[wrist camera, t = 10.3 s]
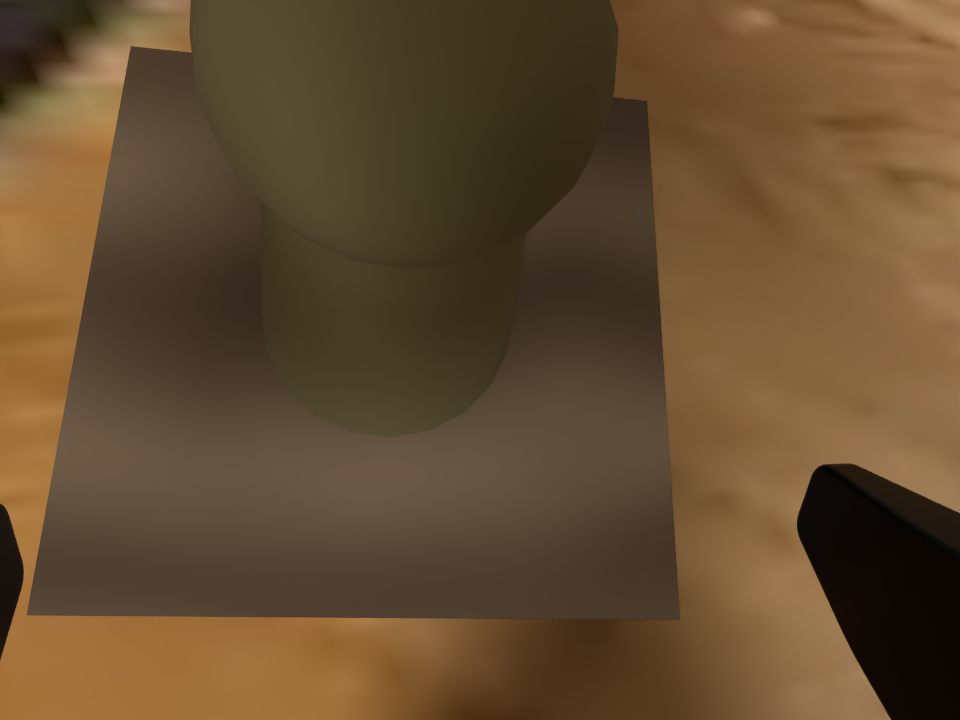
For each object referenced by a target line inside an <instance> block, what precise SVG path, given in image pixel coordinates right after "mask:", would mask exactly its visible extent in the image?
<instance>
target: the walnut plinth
mask: <svg viewBox="0 0 960 720" xmlns="http://www.w3.org/2000/svg"><path fill="white" fill-rule="evenodd" d="M27 615H58V616H196V617H334V618H472V619H610V620H680V614H679V598H678V582H677V567H676V551H675V536H674V520H673V504H672V489H671V473H670V457H669V442H668V426H667V410H666V395H665V379H664V363H663V348H662V332H661V316H660V301H659V285H658V269H657V254H656V238H655V222H654V207H653V191H652V175H651V160H650V144H649V128H648V113H647V101H640V100H631V99H622V98H613V100H612V108H611V114H610V117H609V119H608V121H607V123H606V125H605V127H604V129H603V131H602V133H601V136H600V138H599V140H598V142H597V144H596V146H595V148H594V150H593V152H592V155H591V157H590V159H589V161H588V163H587V165H586V167H585V168H584V170H583V172H582V174H581V176H580V177H579V179H578V181H577V183H576V185H575V186H574V188H573V189H572V190H571V191H570V192H569V193H568V194H567V195H566V196H565V197H564V198H563V199H562V200H561V201H560V202H559V203H558V204H556V205H555V206H554V207H553V208H552V209H551V210H550V211H549V212H548V213H547V214H546V215H545V216H544V217H543V218H542V219H541V220H540V221H539V222H538V223H537V224H536V225H535V226H534V227H532V228H531V229H530V230H528V231H527V232H526V238H525V244H524V250H523V256H522V261H521V267H520V273H519V279H518V285H517V291H516V297H515V303H514V309H513V315H512V321H511V327H510V333H509V339H508V345H507V351H506V354H505V356H504V358H503V360H502V363H501V365H500V367H499V369H498V371H497V373H496V375H495V378H494V380H493V382H492V384H491V386H490V387H489V388H488V389H487V390H486V391H485V392H484V393H483V394H482V395H481V396H480V397H479V398H478V399H477V400H476V401H475V402H474V403H473V404H472V405H471V406H470V407H469V408H468V409H467V411H466V412H465V413H463V414H461V415H459V416H457V417H455V418H453V419H451V420H449V421H447V422H445V423H444V424H442V425H440V426H438V427H436V428H434V429H432V430H430V431H425V432H419V433H413V434H407V435H402V436H396V437H383V436H376V435H369V434H361V433H354V432H349V431H347V430H345V429H343V428H340V427H338V426H336V425H334V424H332V423H330V422H328V421H326V420H324V419H322V418H320V417H318V416H316V415H313V414H312V413H311V412H310V411H309V410H308V409H307V408H306V407H305V406H304V405H303V404H302V403H301V402H300V401H299V400H298V399H296V398H295V397H294V396H293V395H292V394H291V393H290V392H289V391H288V390H287V389H286V388H285V387H284V386H283V384H282V382H281V380H280V378H279V376H278V374H277V372H276V370H275V368H274V366H273V364H272V362H271V360H270V358H269V356H268V354H267V352H266V346H265V338H264V330H263V323H262V315H261V201H260V200H259V199H258V198H257V197H256V196H255V195H254V194H253V193H252V192H251V191H250V190H249V189H248V188H247V187H246V186H245V185H244V184H243V182H242V181H241V180H240V179H239V178H238V177H237V176H236V175H235V173H234V171H233V169H232V167H231V165H230V163H229V162H228V160H227V158H226V156H225V154H224V152H223V150H222V148H221V146H220V144H219V143H218V141H217V139H216V137H215V135H214V133H213V131H212V129H211V127H210V126H209V124H208V122H207V119H206V116H205V114H204V111H203V108H202V105H201V103H200V100H199V97H198V95H197V92H196V84H195V75H194V67H193V58H192V53H189V52H179V51H170V50H160V49H151V48H142V47H132V46H131V49H130V54H129V60H128V65H127V71H126V76H125V81H124V87H123V92H122V98H121V103H120V109H119V114H118V120H117V125H116V131H115V136H114V142H113V147H112V152H111V158H110V163H109V169H108V174H107V180H106V185H105V191H104V196H103V202H102V207H101V213H100V218H99V223H98V229H97V234H96V240H95V245H94V251H93V256H92V262H91V267H90V273H89V278H88V283H87V289H86V294H85V300H84V305H83V311H82V316H81V322H80V327H79V333H78V338H77V344H76V349H75V354H74V360H73V365H72V371H71V376H70V382H69V387H68V393H67V398H66V404H65V409H64V415H63V420H62V425H61V431H60V436H59V442H58V447H57V453H56V458H55V464H54V469H53V475H52V480H51V485H50V491H49V496H48V502H47V507H46V513H45V518H44V524H43V529H42V535H41V540H40V546H39V551H38V556H37V562H36V567H35V573H34V578H33V584H32V589H31V595H30V600H29V606H28V611H27Z"/></svg>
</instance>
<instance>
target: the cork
mask: <svg viewBox="0 0 960 720" xmlns="http://www.w3.org/2000/svg"><path fill="white" fill-rule="evenodd" d="M190 41H191V49H192V58H193V67H194V75H195V84H196V92H197V95H198V97H199V100H200V103H201V105H202V108H203V111H204V114H205V116H206V119H207V122H208V124H209V126H210V127H211V129H212V131H213V133H214V135H215V137H216V139H217V141H218V143H219V144H220V146H221V148H222V150H223V152H224V154H225V156H226V158H227V160H228V162H229V163H230V165H231V167H232V169H233V171H234V173H235V175H236V176H237V177H238V178H239V179H240V180H241V181H242V182H243V184H244V185H245V186H246V187H247V188H248V189H249V190H250V191H251V192H252V193H253V194H254V195H255V196H256V197H257V198H258V199H259V200H260V201H261V315H262V323H263V330H264V338H265V346H266V352H267V354H268V356H269V358H270V360H271V362H272V364H273V366H274V368H275V370H276V372H277V374H278V376H279V378H280V380H281V382H282V384H283V386H284V387H285V388H286V389H287V390H288V391H289V392H290V393H291V394H292V395H293V396H294V397H295V398H296V399H298V400H299V401H300V402H301V403H302V404H303V405H304V406H305V407H306V408H307V409H308V410H309V411H310V412H311V413H312V414H313V415H316V416H318V417H320V418H322V419H324V420H326V421H328V422H330V423H332V424H334V425H336V426H338V427H340V428H343V429H345V430H347V431H349V432H354V433H361V434H369V435H376V436H383V437H396V436H402V435H407V434H413V433H419V432H425V431H430V430H432V429H434V428H436V427H438V426H440V425H442V424H444V423H445V422H447V421H449V420H451V419H453V418H455V417H457V416H459V415H461V414H463V413H465V412H466V411H467V409H468V408H469V407H470V406H471V405H472V404H473V403H474V402H475V401H476V400H477V399H478V398H479V397H480V396H481V395H482V394H483V393H484V392H485V391H486V390H487V389H488V388H489V387H490V386H491V384H492V382H493V380H494V378H495V375H496V373H497V371H498V369H499V367H500V365H501V363H502V360H503V358H504V356H505V354H506V351H507V345H508V339H509V333H510V327H511V321H512V315H513V309H514V303H515V297H516V291H517V285H518V279H519V273H520V267H521V261H522V256H523V250H524V244H525V238H526V232H527V231H528V230H530V229H531V228H532V227H534V226H535V225H536V224H537V223H538V222H539V221H540V220H541V219H542V218H543V217H544V216H545V215H546V214H547V213H548V212H549V211H550V210H551V209H552V208H553V207H554V206H555V205H556V204H558V203H559V202H560V201H561V200H562V199H563V198H564V197H565V196H566V195H567V194H568V193H569V192H570V191H571V190H572V189H573V188H574V186H575V185H576V183H577V181H578V179H579V177H580V176H581V174H582V172H583V170H584V168H585V167H586V165H587V163H588V161H589V159H590V157H591V155H592V152H593V150H594V148H595V146H596V144H597V142H598V140H599V138H600V136H601V133H602V131H603V129H604V127H605V125H606V123H607V121H608V119H609V117H610V114H611V108H612V100H613V92H614V84H615V71H616V56H617V42H618V27H617V23H616V20H615V16H614V13H613V10H612V6H611V3H610V0H191V9H190Z"/></svg>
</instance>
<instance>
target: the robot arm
mask: <svg viewBox="0 0 960 720" xmlns="http://www.w3.org/2000/svg"><path fill="white" fill-rule="evenodd" d="M797 530H798V534H799V538H800V540H801V542H802V545H803V547H804V549H805V551H806V553H807V556H808V558H809V560H810V562H811V564H812V567H813V569H814V571H815V573H816V575H817V577H818V580H819V582H820V584H821V586H822V588H823V591H824V593H825V595H826V597H827V599H828V601H829V604H830V606H831V608H832V610H833V612H834V615H835V617H836V619H837V621H838V623H839V625H840V628H841V630H842V632H843V634H844V636H845V638H846V640H847V642H848V644H849V646H850V648H851V650H852V652H853V654H854V656H855V658H856V659H857V661H858V663H859V665H860V667H861V668H862V670H863V672H864V674H865V675H866V677H867V679H868V681H869V682H870V684H871V686H872V688H873V689H874V691H875V693H876V694H877V696H878V698H879V700H880V701H881V703H882V705H883V706H884V708H885V710H886V712H887V713H888V715H889V717H890V719H891V720H960V513H958V512H956V511H954V510H951V509H949V508H947V507H945V506H943V505H941V504H939V503H936V502H934V501H932V500H930V499H928V498H926V497H924V496H921V495H919V494H917V493H915V492H913V491H911V490H909V489H906V488H904V487H902V486H900V485H898V484H896V483H893V482H891V481H889V480H887V479H885V478H883V477H881V476H878V475H876V474H874V473H872V472H870V471H868V470H866V469H863V468H861V467H859V466H857V465H854V464H825V465H821V466H819V467H818V468H817V469H816V470H815V471H814V472H813V474H812V476H811V479H810V482H809V485H808V488H807V491H806V494H805V497H804V500H803V502H802V505H801V508H800V511H799V514H798V518H797ZM23 574H24V570H23V562H22V558H21V555H20V551H19V548H18V545H17V541H16V538H15V534H14V531H13V527H12V524H11V521H10V517H9V514H8V512H7V510H6V508H5V507H4V506H3V505H2V504H0V659H1V656H2V653H3V649H4V646H5V642H6V639H7V636H8V632H9V629H10V626H11V622H12V619H13V615H14V612H15V609H16V605H17V602H18V599H19V595H20V592H21V588H22V584H23Z"/></svg>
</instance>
